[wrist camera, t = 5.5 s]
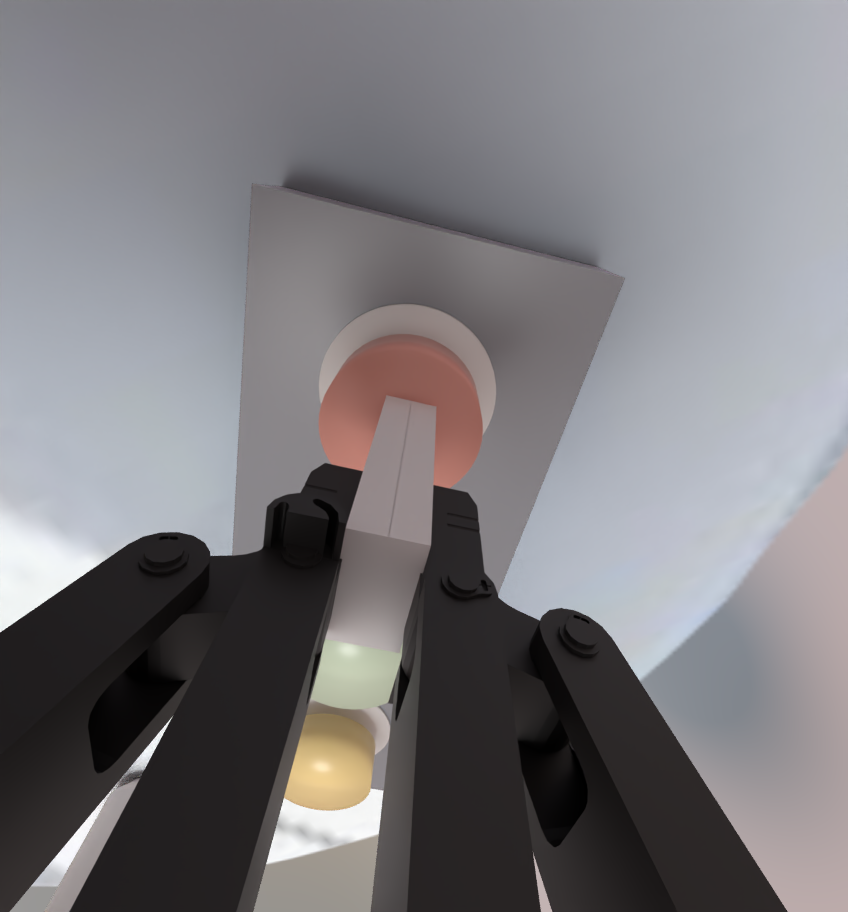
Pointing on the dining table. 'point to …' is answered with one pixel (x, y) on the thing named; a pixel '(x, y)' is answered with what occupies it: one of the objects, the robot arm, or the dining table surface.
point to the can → (90, 849)
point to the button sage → (355, 675)
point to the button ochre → (331, 763)
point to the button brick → (411, 378)
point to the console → (418, 313)
